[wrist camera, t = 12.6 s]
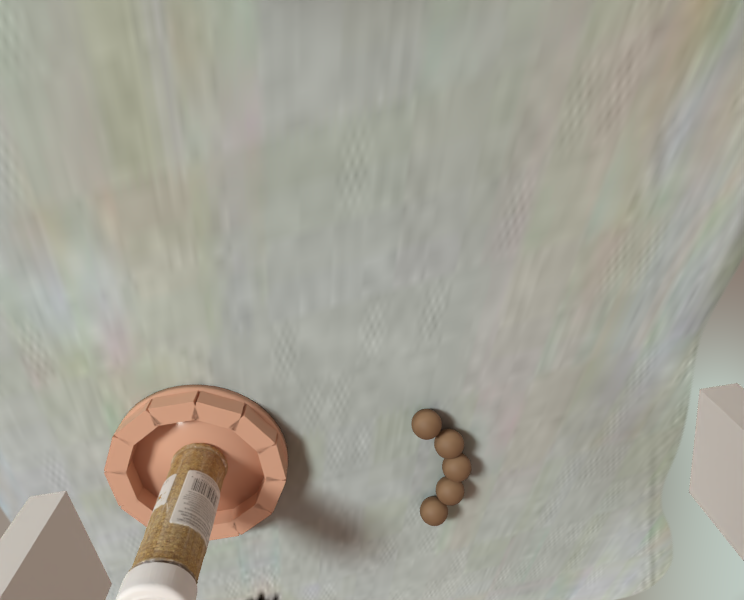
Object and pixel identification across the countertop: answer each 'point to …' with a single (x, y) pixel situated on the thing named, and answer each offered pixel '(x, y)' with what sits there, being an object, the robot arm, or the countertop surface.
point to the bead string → (453, 465)
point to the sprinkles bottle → (178, 528)
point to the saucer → (208, 426)
